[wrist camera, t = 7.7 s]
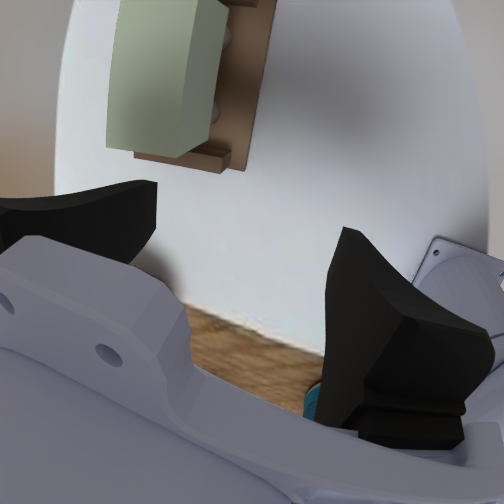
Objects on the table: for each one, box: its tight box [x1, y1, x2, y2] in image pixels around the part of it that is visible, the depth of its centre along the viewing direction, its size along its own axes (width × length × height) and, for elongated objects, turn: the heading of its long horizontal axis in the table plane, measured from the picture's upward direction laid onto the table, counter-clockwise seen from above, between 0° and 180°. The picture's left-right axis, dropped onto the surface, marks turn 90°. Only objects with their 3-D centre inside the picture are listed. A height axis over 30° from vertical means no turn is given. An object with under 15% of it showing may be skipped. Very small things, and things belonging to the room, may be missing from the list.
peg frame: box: [134, 0, 277, 174], centre depth 17 cm, size 12×8×3 cm, turn 170°
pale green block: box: [106, 0, 229, 158], centre depth 14 cm, size 8×4×4 cm, turn 170°
